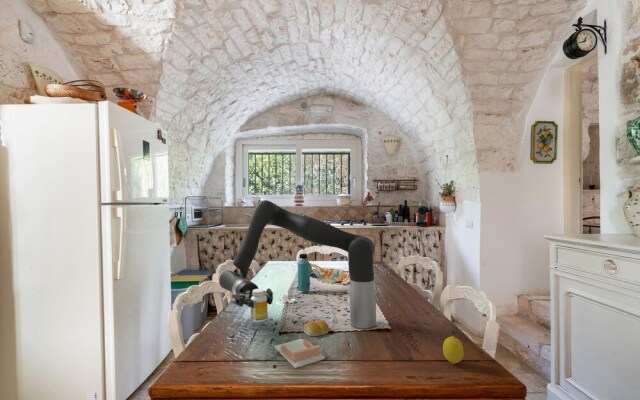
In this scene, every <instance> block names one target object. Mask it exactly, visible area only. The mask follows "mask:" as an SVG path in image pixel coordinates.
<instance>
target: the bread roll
mask: <svg viewBox="0 0 640 400" xmlns="http://www.w3.org/2000/svg"><path fill="white" fill-rule="evenodd" d="M329 331H330V326H329V324H328V323H327V322H326V321H325V320H314V321H309V322H306V323H305V325H304V326H303V332H304V333H305V334H306V335H307V336H309V337H320V336H323V335H327V334H328V333H329Z"/></svg>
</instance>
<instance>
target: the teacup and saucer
mask: <svg viewBox="0 0 640 400" xmlns="http://www.w3.org/2000/svg"><path fill="white" fill-rule="evenodd" d="M288 295H289V294H288V293H281V295H279V296H278V298H279V300H277V301H276V302H275V303H276V305H278V306H283V304H286V303H285V302H287V303H288V304H290V303H292V304H294V303H296V301H297V300H296V299H295V298H290V299H289V298H288V297H289V296H288ZM280 297H281V298H280ZM280 302H281V303H282V304H281V303H280Z"/></svg>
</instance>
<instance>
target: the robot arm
mask: <svg viewBox="0 0 640 400" xmlns="http://www.w3.org/2000/svg"><path fill="white" fill-rule="evenodd" d="M267 225H270V226H271V225H272V226H274V227H275V226H276V227H278V228H282V229H284V230H287V231H289V232H291V233H293V234H294V235H296V236H297V237H299V238H302V239H304V240H306V241H308V242H311V243H314V244H316V245H320V246H327V247H332V248H336V249H340V250H343V252H344V251H345V252H346V253H348V254H347V256H348V258H347V262H348V273H349V302H350V303H349V304H350V305H349V306H350V307H349V308H350V309H349V310H350V311H349V313H350V317H349V318H350V319H349V320H350V322H349V323H350V325H351V327H353V328H356V329H362V330H363V329H364V330H365V329H370V328H371V329H372V328H373V326H374V327H377V301H376V300H375V273H374V259H373V258H374V254H375V250H376V248H375V246H376V245H375V243H374V242H373V241H372V240H371V239H370V238H368V237H366V236H363V235H360V234H359V235H358V234H354V233H352V232H348V231H345V230H342V229H340V228H338V227H336V226H334V225H331V224H329V223H327V222H325V221H322V220H319V219H317V218H314V217H311V216H307V215H304V214H303V215H302V214H298V213H293V212H291V211H288V210H286V209H284V208H282V207H281V206H279V205H277V204H276V203H274V202H272V201H271V200H268V199H265V200H264V199H263V200H261V201H259V202H258V203H257V204H256V206H255V208H254V211H253V212H252V216H251V219H250V222H249V225H248V229H247V231H246V233H245V236H244V239H243V240H242V242H241V245H240V247H239V249H238V251H237V252H236V253H237V254H236V255H235V257H234V259H233V261H232V264H233V266H235V268H237V269H238V270H239V273H237V272H234V271H232V270H225V271H223V272H222V273H221V274H220V275H219V278H218V282H219V283H218V284H219V286H220V287H221V288H222V289H224V290H227V291H229V292H230V293H232V295H231V297H232V300H231V303H232V304H234V305H236V306H238V307H243V306H246V307H248V308H250V309H251V308H254V301H253V300H251V297H252V296H253V290H254V289H260V288H259V287H258V285H257V284H255V283H254V282H253V281H251V280H249V279H247V278H248V274H249V270H250V267H251V264H252V263H253V262H254V261H253V260H254V258H255V257H256V255H257V252H258V247H259V242H260V239H261V235H263V234H262V233H263V231H264V229H265V228H266V227H267ZM265 296H266V297H267V305H272V303H273V301H274V292H273V290H272V289H271V288H267V289H265Z"/></svg>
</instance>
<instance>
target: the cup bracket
mask: <svg viewBox="0 0 640 400" xmlns="http://www.w3.org/2000/svg"><path fill="white" fill-rule="evenodd" d="M274 349H276V350H277V352H278V353H280V354H281V356H282V357H283V358H284V359H286V360H287V362H289V364H291V366H292V367H293V368H294V369H296V368H300V367H304V366H306V365H309V364H312V363H316V362H318V361H323V360H325V359H326V357H325V356H324V354H321V346H320V345H313V344H312V343H311V342H310V341H309V340H308V339H303V338H299V339H295V340H292V341H289V342H283V343H281V344H277V345H274Z"/></svg>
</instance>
